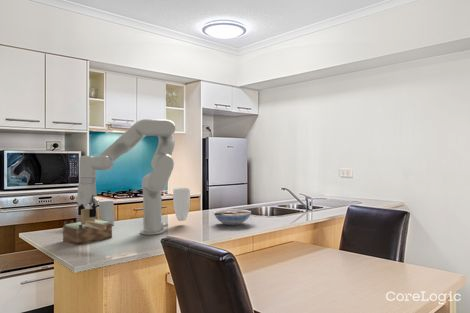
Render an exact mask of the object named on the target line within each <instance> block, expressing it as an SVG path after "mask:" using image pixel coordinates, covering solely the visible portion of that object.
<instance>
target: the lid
mask: <svg viewBox="0 0 470 313" xmlns="http://www.w3.org/2000/svg"><path fill="white" fill-rule="evenodd" d="M89 210H90V208H88V209H81V222H78V223H76V222H74V223H71V222H70V223H67V224H65V227H69V228H74V229H79V225H82V229H84V228H86V227H85V221H92V222H97V223H103V224H110V222H108V221H102V220H100V219H98V220H95V217H89Z"/></svg>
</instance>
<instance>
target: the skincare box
mask: <svg viewBox="0 0 470 313" xmlns="http://www.w3.org/2000/svg"><path fill="white" fill-rule="evenodd" d="M98 200H99V199H98ZM114 205H115V204H114V199H101V200H99V202H98V214H99V215H98V216H99V220H102V221H108V222H110V224H112V226H115V211H114V210H115V207H114Z"/></svg>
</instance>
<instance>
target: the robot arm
mask: <svg viewBox="0 0 470 313" xmlns="http://www.w3.org/2000/svg"><path fill="white" fill-rule="evenodd" d="M175 131H176V125H175V123H174V121H172V120H170V119H151V118H150V119H149V118H148V119H146V118H145V119H144V118H143V119H140V120H138V121H136V122H135V123H133V125H131V126H130V127H129V128H128V129H126V131H125V132H124V133H122V135H121V136H119V137H118V138H117V139H116V140H115V141H113V143H112V144H111V145H110V146H108V147H106V149H105V150H103V151H102V152H101V153H100V154H99V155H98V156H96V155H95V156H94V155H81V156H80V157H79V164H78V166H79V167H78V168H79V171H78V174H79V175H78V176H79V177H78V186H77V191H76V192H77V193H76V194H77V196H76V203H77V207H78V215H81V209H85V207H84V205H89V206H90V210H89V217H96V209H97V208H98V207H99V199H98V198H97V185H96V183H97V182H96V181H97V171H103V172H105V171H109V170H111V169H112V167H113V166H114V162H115V161H116V160H117V159H119V158H120V157H122V156H123V155H124V154H127V153H129V152H130V151H132V149H134V148H135V147H136V146H137V145H138V144H139V143H140V142H141V141H142V140H143V139H145V137H151V136H153V137H157V138H158V145H157V146H156V147H157V148H156V150H155V152H154V155H153V158H152V159H151V162H150V163H151V164H150V165H151V168H152V171H151V172H150V173H147V174H146V175H144V176H143V178H142V181H141V187H142V199H143V200H142V201H143V202H142V203H143V204H142V205H143V206H142V208H143V210H142V213H143V214H142V218H143V220H142V223H143V224H142V226H143V227H142V229H141V230H139V233H140V234H141V235H145V236H146V235H147V236H149V235H150V236H153V235H160V234H163V233H165V232H166V231H165V229H164V228H165V227H167V228H168V226H169V223H168V222H165V223H164V222H162V211H163V210H162V202H163V201H162V199H163V198H162V191H164V190H165V188H166V187H167V185H168V182H169V180H170V177H171V175H172V173H173V169H174V166H175V164H174V163H175V162H174V159H173V157H172V154H173V151H174V148H175V139H174V138H175V136H174V135H173V134H174V133H175ZM92 205H93V206H92ZM97 206H98V207H97Z"/></svg>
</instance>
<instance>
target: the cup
mask: <svg viewBox="0 0 470 313" xmlns="http://www.w3.org/2000/svg"><path fill="white" fill-rule="evenodd" d="M172 190H173V192H172V193H173V195H172V199H173V200H172V201H173V202H172V203H173V209H174V213H175V216H176V219H177V221H180V222H181V221H182V222H184V221H186V220H187V218H188V215H189V211H190V206H191V189H190V187H176V188H173V189H172Z"/></svg>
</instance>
